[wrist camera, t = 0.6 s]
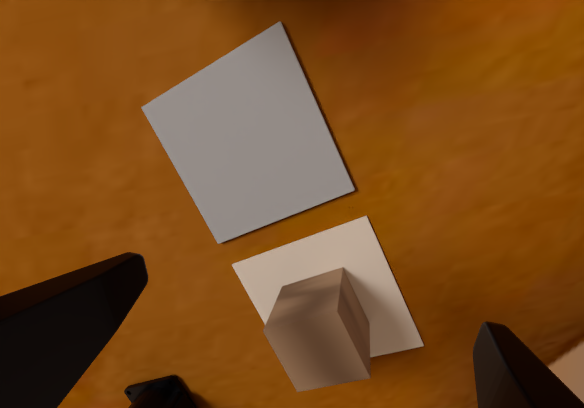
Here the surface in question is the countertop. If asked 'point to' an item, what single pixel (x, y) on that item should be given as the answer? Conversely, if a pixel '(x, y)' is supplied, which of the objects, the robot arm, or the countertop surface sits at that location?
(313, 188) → the grey mat
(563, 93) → the countertop surface
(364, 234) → the card
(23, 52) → the countertop surface
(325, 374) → the walnut block
